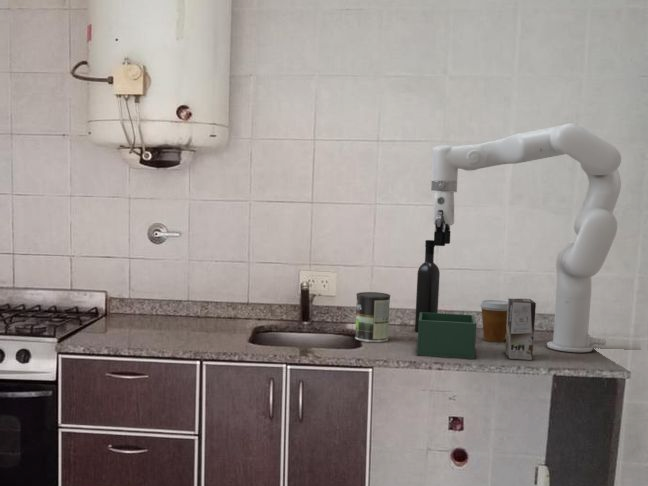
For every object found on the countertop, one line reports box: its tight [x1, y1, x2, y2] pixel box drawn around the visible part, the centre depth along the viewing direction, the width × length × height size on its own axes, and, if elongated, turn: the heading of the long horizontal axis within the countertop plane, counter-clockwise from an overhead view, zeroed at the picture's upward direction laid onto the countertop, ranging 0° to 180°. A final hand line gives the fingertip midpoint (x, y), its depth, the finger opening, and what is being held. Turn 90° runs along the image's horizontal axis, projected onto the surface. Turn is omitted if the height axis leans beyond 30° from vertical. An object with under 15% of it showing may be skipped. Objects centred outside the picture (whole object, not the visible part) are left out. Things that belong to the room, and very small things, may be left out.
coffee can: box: [354, 291, 391, 343], centre depth 252 cm, size 10×10×14 cm
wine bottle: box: [414, 239, 441, 333], centre depth 266 cm, size 6×6×30 cm
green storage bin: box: [416, 312, 477, 360], centre depth 235 cm, size 16×16×10 cm
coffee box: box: [504, 298, 537, 361], centre depth 230 cm, size 9×6×16 cm
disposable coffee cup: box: [479, 299, 508, 343], centre depth 254 cm, size 10×10×12 cm
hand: (442, 244), depth 245 cm, fingers open, 9 cm apart
